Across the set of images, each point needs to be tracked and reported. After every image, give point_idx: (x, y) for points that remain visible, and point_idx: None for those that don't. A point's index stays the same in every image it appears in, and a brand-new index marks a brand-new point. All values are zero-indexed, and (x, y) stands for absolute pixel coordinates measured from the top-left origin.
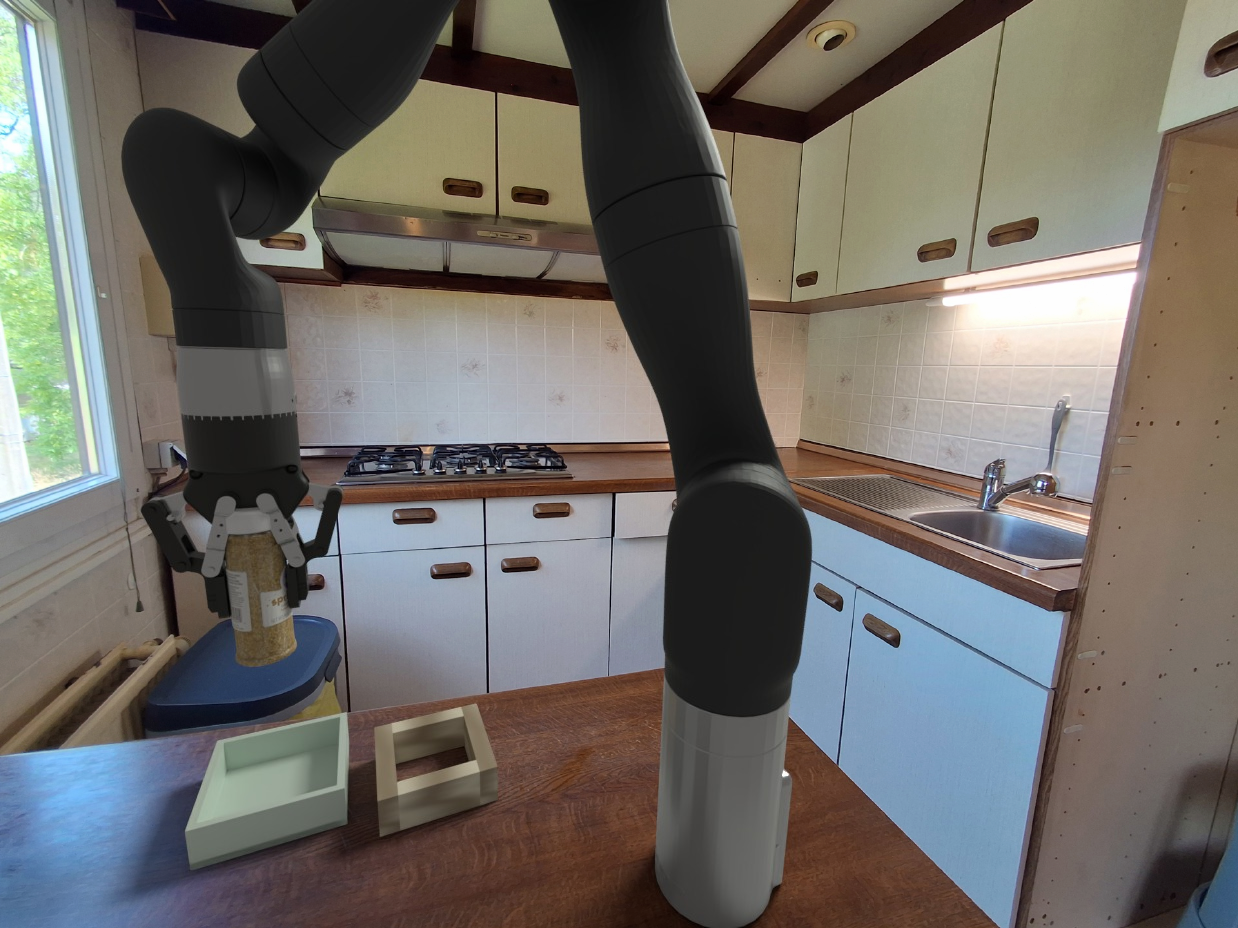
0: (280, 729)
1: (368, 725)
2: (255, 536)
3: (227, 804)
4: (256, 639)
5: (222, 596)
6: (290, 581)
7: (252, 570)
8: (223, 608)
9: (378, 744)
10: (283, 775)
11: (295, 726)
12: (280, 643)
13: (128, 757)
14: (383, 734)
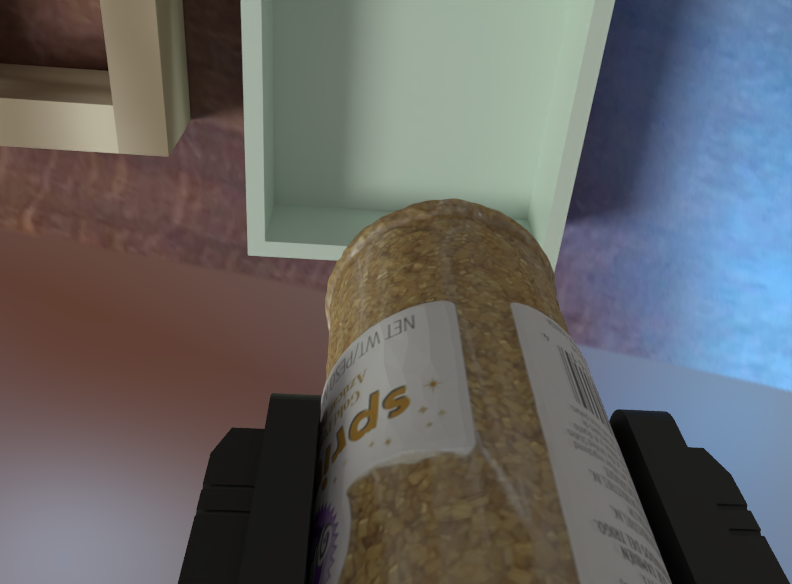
0: None
1: (215, 255)
2: None
3: (525, 99)
4: (484, 269)
5: (682, 504)
6: (288, 526)
7: None
8: (657, 445)
9: (151, 71)
10: (408, 145)
11: None
12: (381, 258)
13: (701, 357)
14: (140, 112)
